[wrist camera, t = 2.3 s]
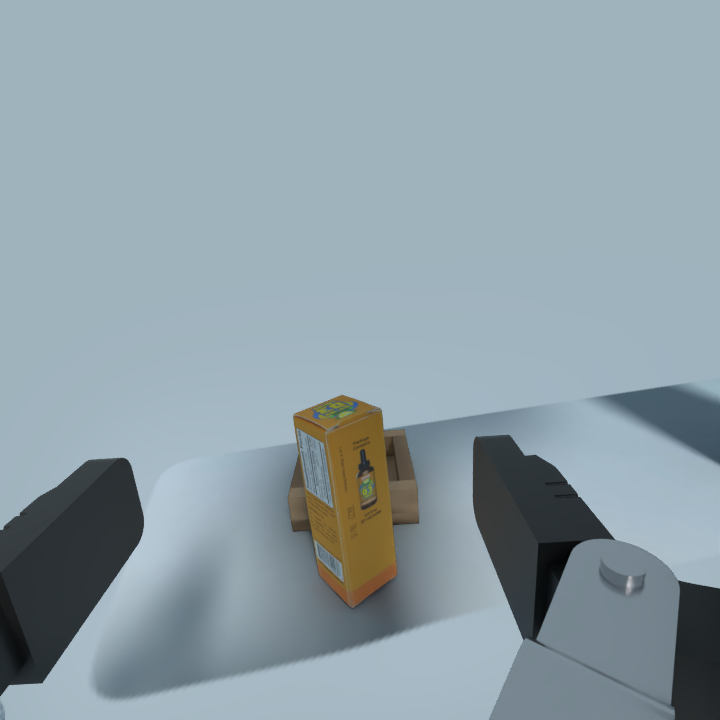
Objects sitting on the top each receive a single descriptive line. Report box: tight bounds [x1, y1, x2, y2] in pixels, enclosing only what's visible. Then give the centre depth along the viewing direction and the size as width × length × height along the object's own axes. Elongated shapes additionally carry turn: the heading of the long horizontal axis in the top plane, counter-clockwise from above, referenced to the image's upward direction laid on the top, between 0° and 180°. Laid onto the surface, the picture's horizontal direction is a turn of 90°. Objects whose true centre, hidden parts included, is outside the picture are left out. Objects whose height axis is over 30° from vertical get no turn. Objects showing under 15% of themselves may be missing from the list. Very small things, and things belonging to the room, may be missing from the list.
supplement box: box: [293, 395, 397, 608], centre depth 22 cm, size 3×3×10 cm
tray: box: [288, 429, 419, 531], centre depth 31 cm, size 8×8×2 cm
